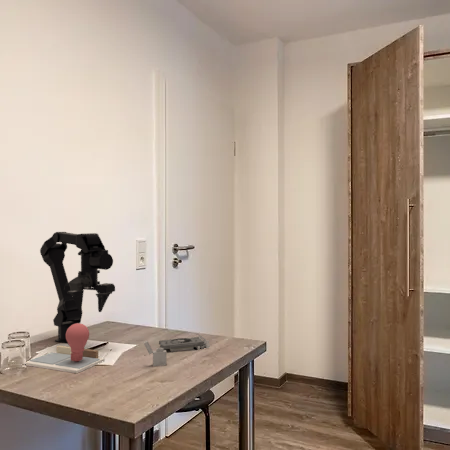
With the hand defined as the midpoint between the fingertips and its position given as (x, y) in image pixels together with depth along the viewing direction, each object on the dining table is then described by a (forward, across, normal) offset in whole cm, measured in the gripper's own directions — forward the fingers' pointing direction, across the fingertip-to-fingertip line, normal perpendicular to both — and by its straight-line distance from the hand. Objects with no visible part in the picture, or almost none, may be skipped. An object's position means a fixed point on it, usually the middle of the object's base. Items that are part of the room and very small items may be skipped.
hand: (89, 311), depth 164 cm
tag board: (+13, +5, -18) cm, 23 cm away
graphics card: (+14, +31, +13) cm, 36 cm away
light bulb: (+12, +10, -18) cm, 24 cm away
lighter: (+13, +33, -9) cm, 37 cm away
